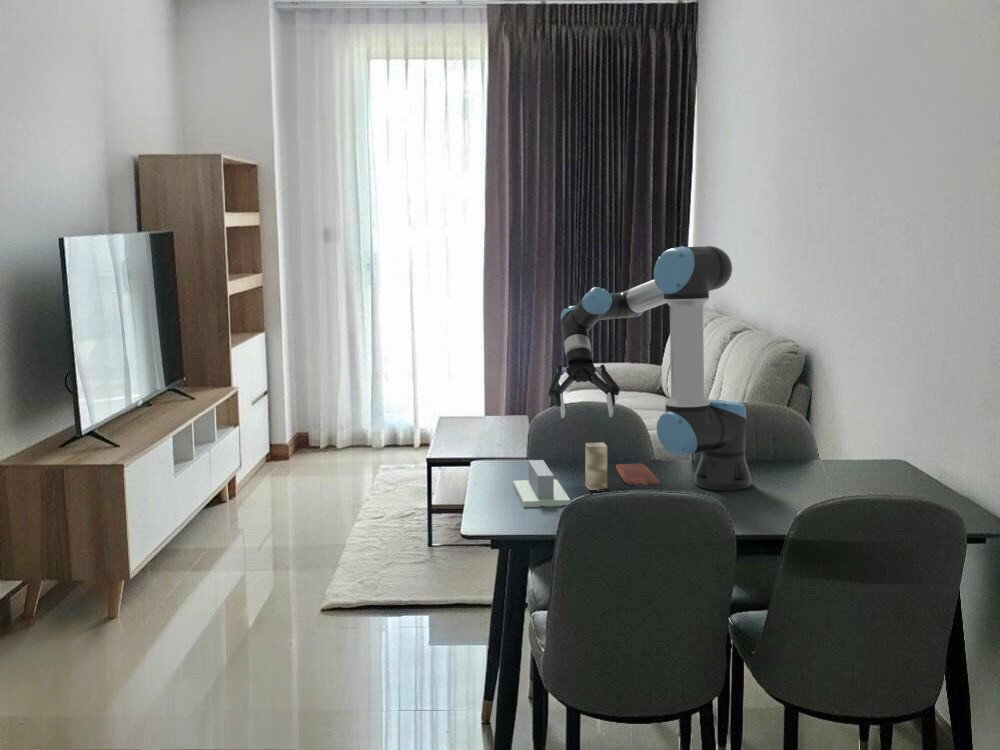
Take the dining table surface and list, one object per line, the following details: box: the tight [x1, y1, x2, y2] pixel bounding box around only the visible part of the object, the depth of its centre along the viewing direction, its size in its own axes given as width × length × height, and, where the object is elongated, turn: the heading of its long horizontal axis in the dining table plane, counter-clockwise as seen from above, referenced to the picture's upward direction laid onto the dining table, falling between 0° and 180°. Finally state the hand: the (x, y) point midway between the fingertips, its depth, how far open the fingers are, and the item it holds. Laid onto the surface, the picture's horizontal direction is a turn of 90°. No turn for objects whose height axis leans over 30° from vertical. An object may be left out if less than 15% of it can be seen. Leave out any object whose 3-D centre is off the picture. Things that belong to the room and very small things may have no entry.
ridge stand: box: [512, 459, 571, 508], centre depth 289 cm, size 22×12×8 cm, turn 6°
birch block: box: [584, 441, 608, 491], centre depth 296 cm, size 5×5×12 cm
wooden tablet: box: [615, 462, 661, 486], centre depth 312 cm, size 27×10×2 cm, turn 2°
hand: (587, 415), depth 305 cm, fingers open, 13 cm apart
